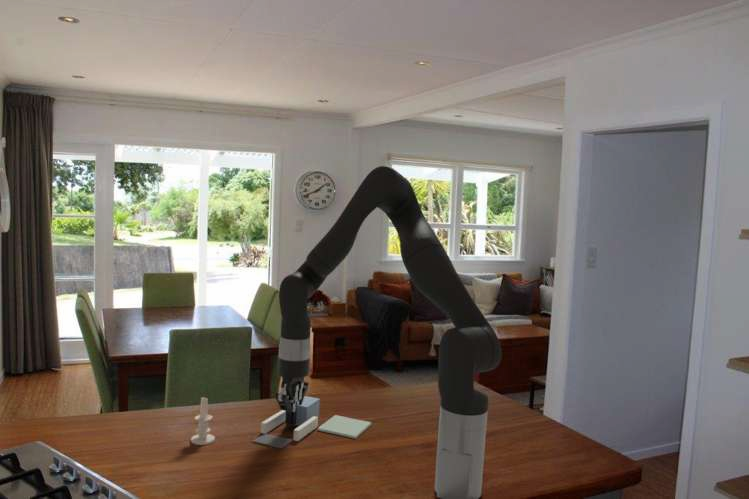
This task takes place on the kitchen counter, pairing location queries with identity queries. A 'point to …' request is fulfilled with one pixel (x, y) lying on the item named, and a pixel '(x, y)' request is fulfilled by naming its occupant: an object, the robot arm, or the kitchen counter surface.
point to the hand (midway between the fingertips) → (290, 425)
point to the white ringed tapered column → (203, 425)
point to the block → (307, 410)
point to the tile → (344, 426)
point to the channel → (280, 441)
